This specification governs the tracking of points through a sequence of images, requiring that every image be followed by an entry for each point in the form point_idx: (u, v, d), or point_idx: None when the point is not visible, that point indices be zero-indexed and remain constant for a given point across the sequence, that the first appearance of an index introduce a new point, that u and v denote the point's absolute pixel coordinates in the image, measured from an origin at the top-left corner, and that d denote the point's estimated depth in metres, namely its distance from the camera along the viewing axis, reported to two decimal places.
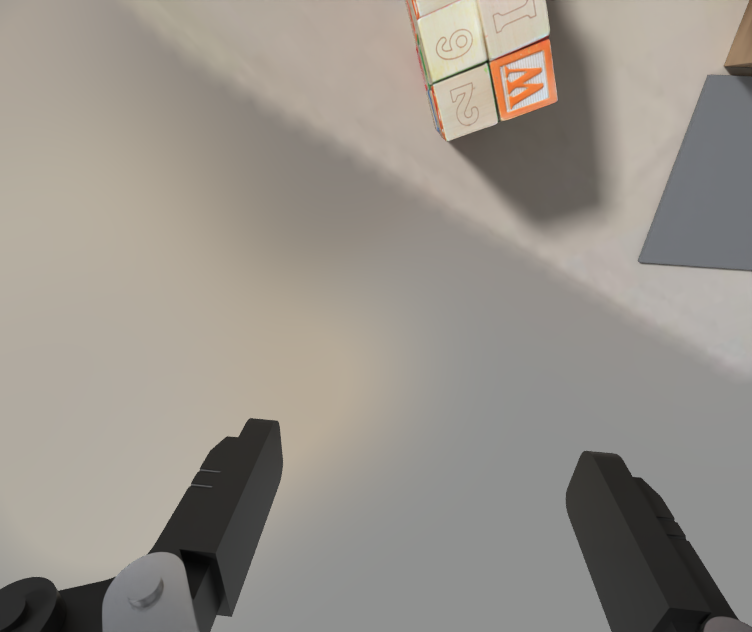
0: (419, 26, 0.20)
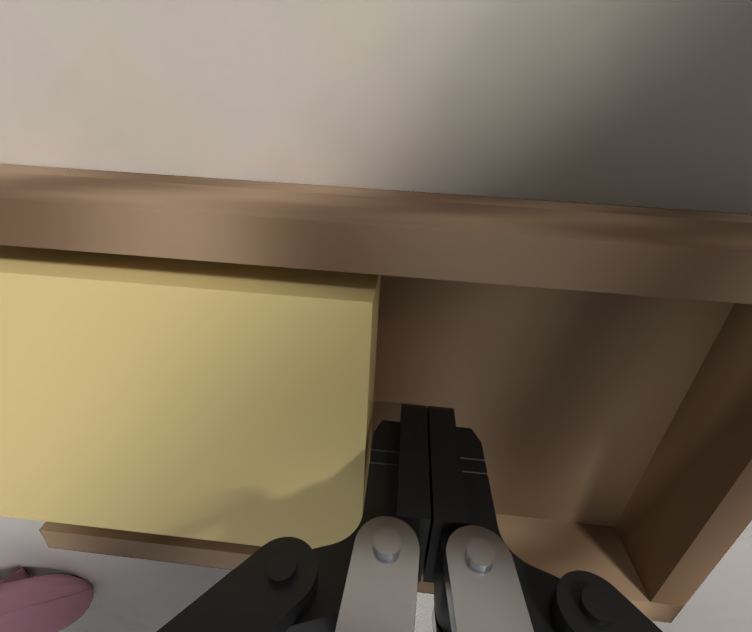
0: None
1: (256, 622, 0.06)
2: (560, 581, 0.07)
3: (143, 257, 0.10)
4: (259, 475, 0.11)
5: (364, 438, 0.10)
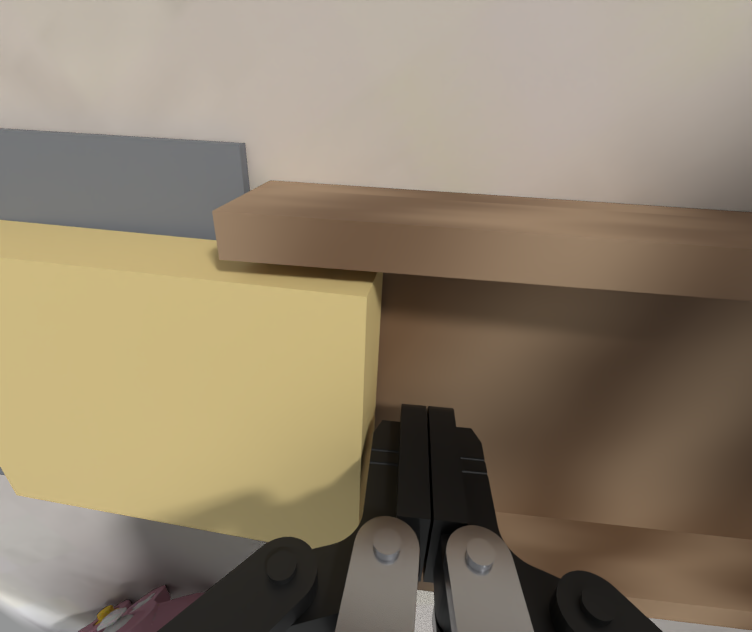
0: None
1: (256, 622, 0.06)
2: (560, 581, 0.07)
3: (148, 247, 0.10)
4: (256, 469, 0.11)
5: (360, 437, 0.10)
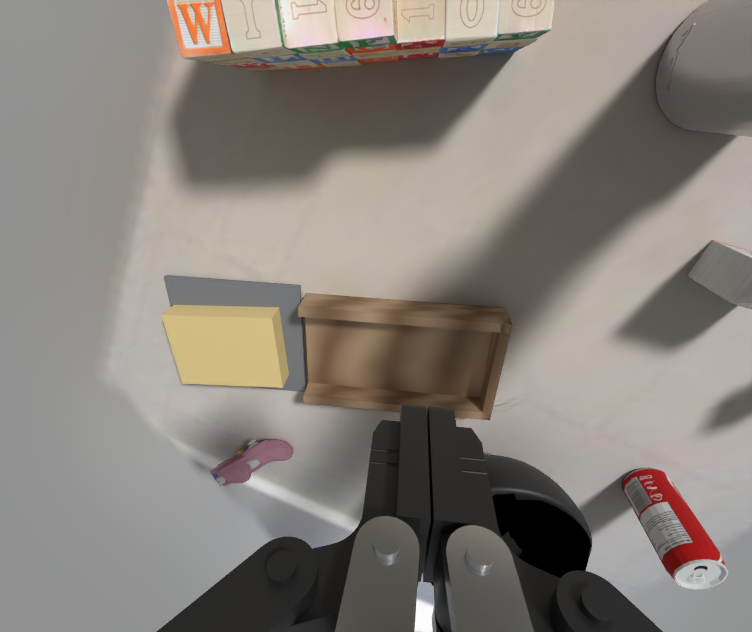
0: None
1: (256, 622, 0.06)
2: (560, 581, 0.07)
3: (223, 310, 0.43)
4: (253, 362, 0.44)
5: (276, 349, 0.43)
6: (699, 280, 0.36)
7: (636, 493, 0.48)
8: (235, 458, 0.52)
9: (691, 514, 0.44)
